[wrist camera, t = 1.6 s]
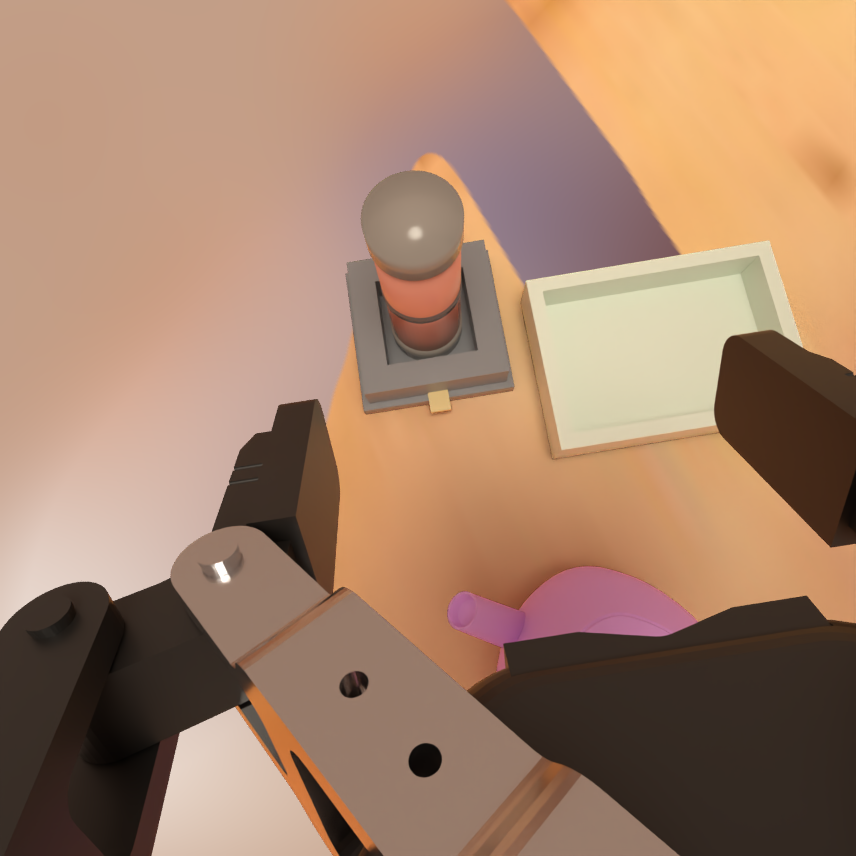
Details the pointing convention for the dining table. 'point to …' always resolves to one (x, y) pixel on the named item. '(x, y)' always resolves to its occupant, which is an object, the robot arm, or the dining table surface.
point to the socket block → (439, 376)
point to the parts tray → (645, 343)
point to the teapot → (572, 609)
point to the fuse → (418, 259)
